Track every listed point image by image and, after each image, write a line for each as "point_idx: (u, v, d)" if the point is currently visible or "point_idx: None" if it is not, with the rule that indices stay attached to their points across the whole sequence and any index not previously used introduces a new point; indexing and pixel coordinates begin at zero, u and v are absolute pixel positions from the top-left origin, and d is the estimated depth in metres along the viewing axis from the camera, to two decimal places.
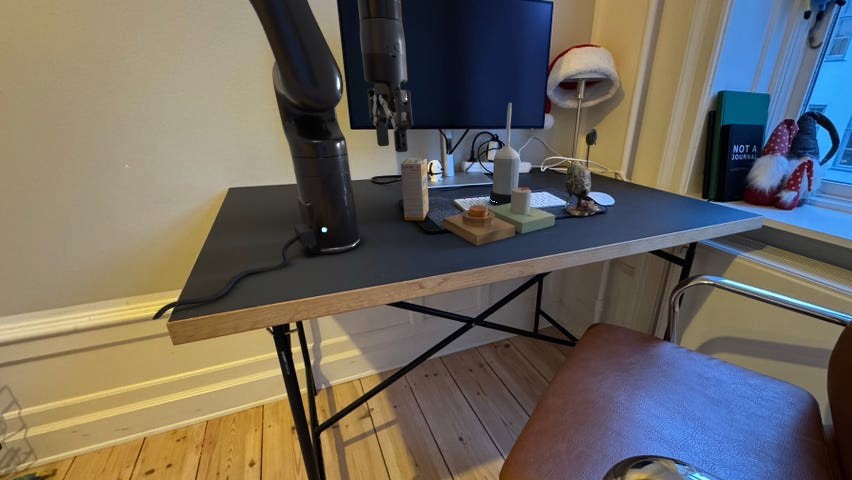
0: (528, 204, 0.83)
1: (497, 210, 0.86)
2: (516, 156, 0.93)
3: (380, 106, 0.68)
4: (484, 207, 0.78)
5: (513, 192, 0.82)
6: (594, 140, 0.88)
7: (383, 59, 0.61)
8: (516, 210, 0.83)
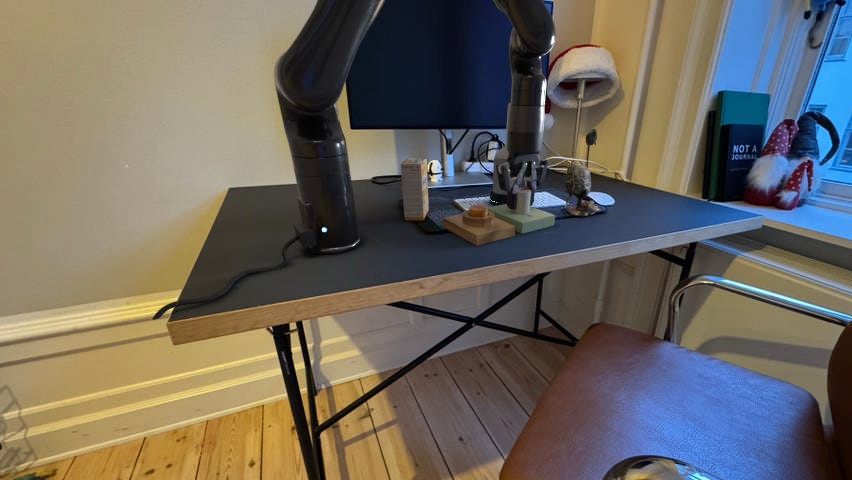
0: (528, 204, 0.83)
1: (497, 210, 0.86)
2: None
3: None
4: (484, 207, 0.78)
5: None
6: (594, 140, 0.88)
7: (508, 135, 0.77)
8: (516, 210, 0.83)
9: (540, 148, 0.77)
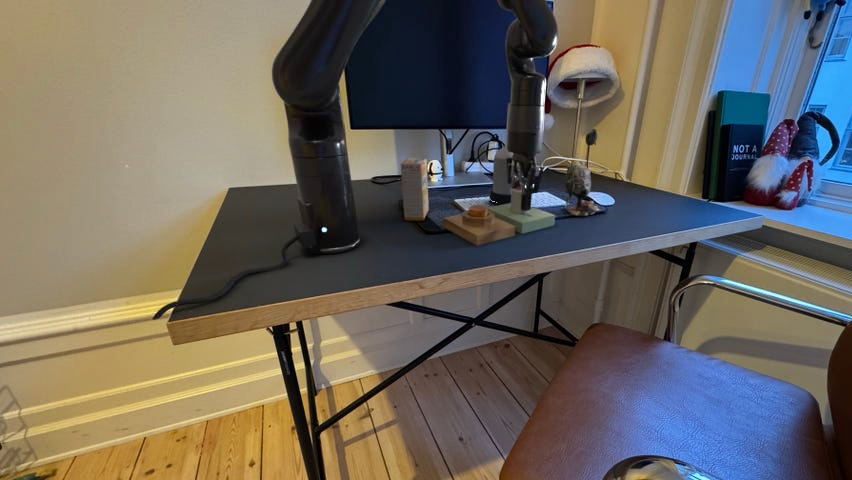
0: None
1: (497, 210, 0.86)
2: None
3: (516, 169, 0.82)
4: (484, 207, 0.78)
5: None
6: (594, 140, 0.88)
7: (525, 137, 0.75)
8: None
9: None
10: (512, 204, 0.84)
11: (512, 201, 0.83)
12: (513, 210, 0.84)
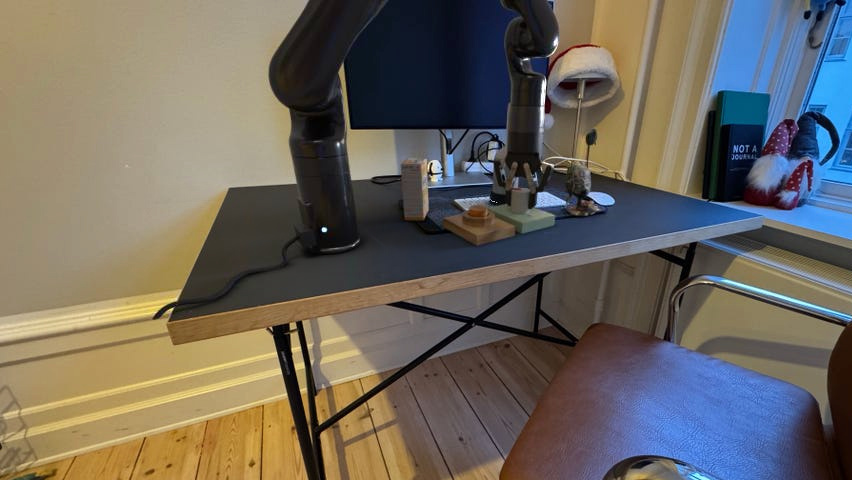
0: None
1: (497, 210, 0.86)
2: None
3: (516, 170, 0.81)
4: (484, 207, 0.78)
5: (530, 192, 0.83)
6: (594, 140, 0.88)
7: (538, 136, 0.76)
8: None
9: None
10: (519, 206, 0.83)
11: (519, 202, 0.82)
12: (520, 211, 0.83)
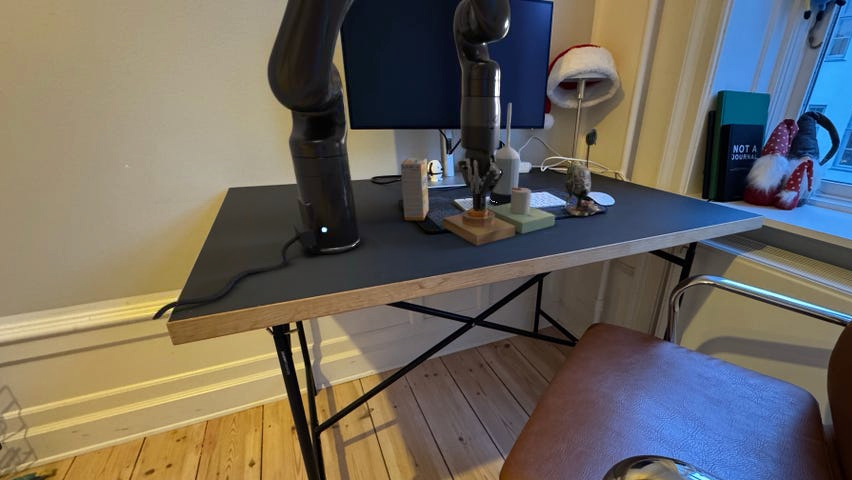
0: None
1: (497, 210, 0.86)
2: (516, 156, 0.93)
3: None
4: None
5: (530, 192, 0.83)
6: (594, 140, 0.88)
7: (483, 131, 0.67)
8: None
9: None
10: (519, 206, 0.83)
11: (519, 202, 0.82)
12: (521, 211, 0.83)
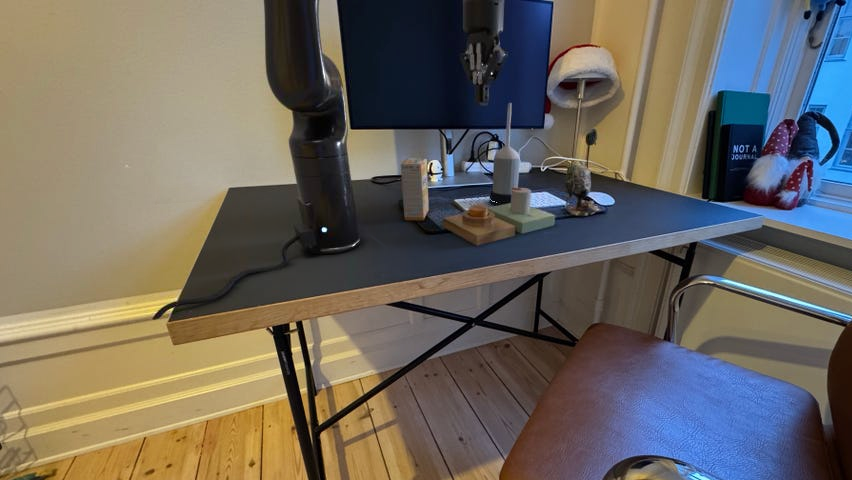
0: None
1: (497, 210, 0.86)
2: (516, 156, 0.93)
3: None
4: (484, 207, 0.78)
5: (530, 192, 0.83)
6: (594, 140, 0.88)
7: (487, 6, 0.64)
8: None
9: None
10: (519, 206, 0.83)
11: (519, 202, 0.82)
12: (521, 211, 0.83)
